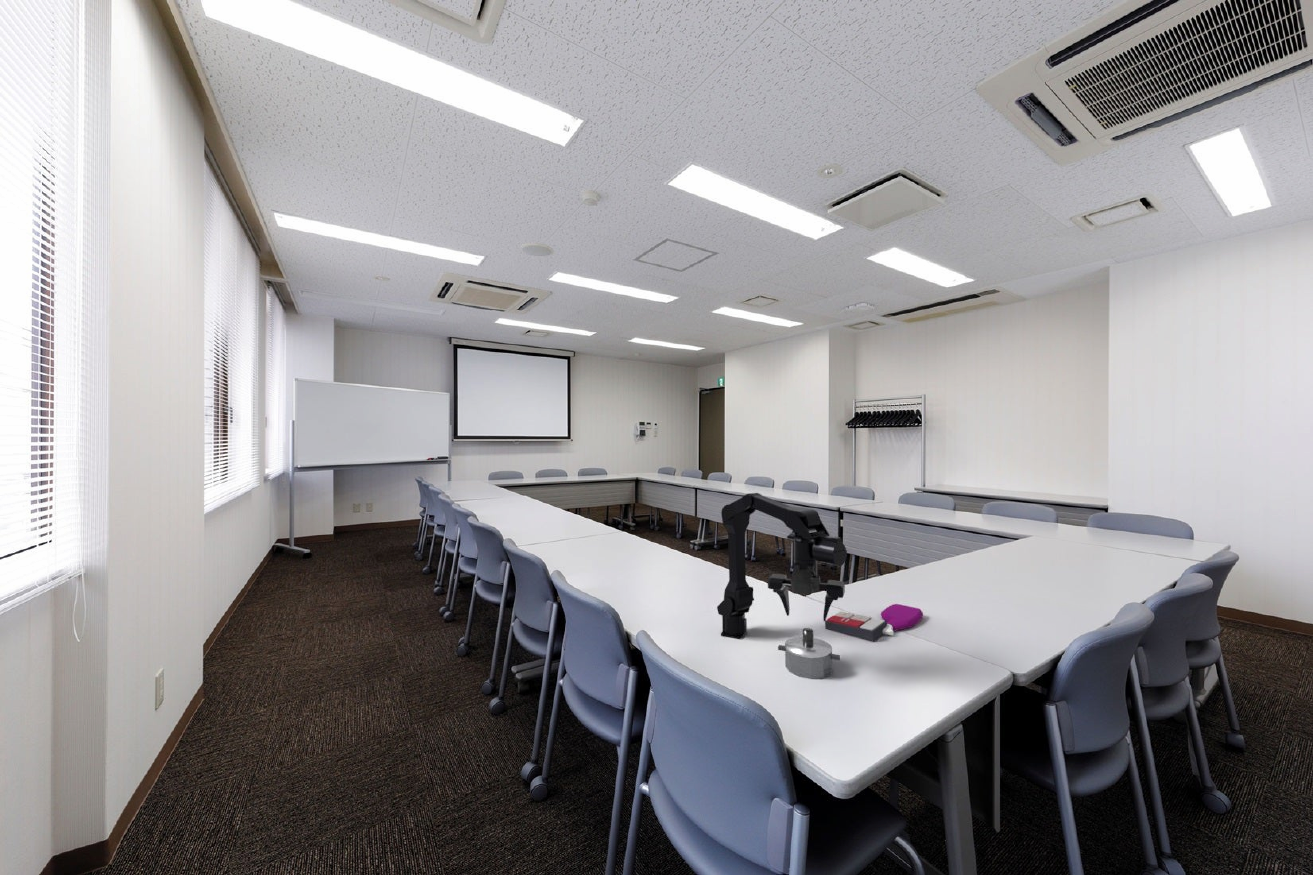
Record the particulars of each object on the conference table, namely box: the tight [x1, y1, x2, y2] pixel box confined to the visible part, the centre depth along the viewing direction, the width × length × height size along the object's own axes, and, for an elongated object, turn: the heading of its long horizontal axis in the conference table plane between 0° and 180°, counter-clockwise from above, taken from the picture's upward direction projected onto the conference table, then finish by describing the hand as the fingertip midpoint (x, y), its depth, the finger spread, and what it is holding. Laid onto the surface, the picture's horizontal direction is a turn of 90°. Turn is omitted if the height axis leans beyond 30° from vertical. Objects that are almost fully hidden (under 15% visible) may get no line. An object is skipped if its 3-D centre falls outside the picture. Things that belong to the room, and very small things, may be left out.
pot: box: [777, 644, 841, 680], centre depth 124 cm, size 15×11×5 cm
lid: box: [784, 627, 833, 659], centre depth 124 cm, size 12×12×6 cm
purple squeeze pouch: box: [880, 603, 924, 636], centre depth 153 cm, size 3×11×24 cm
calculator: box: [824, 611, 887, 643], centre depth 148 cm, size 11×4×15 cm
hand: (806, 618), depth 125 cm, fingers open, 9 cm apart
